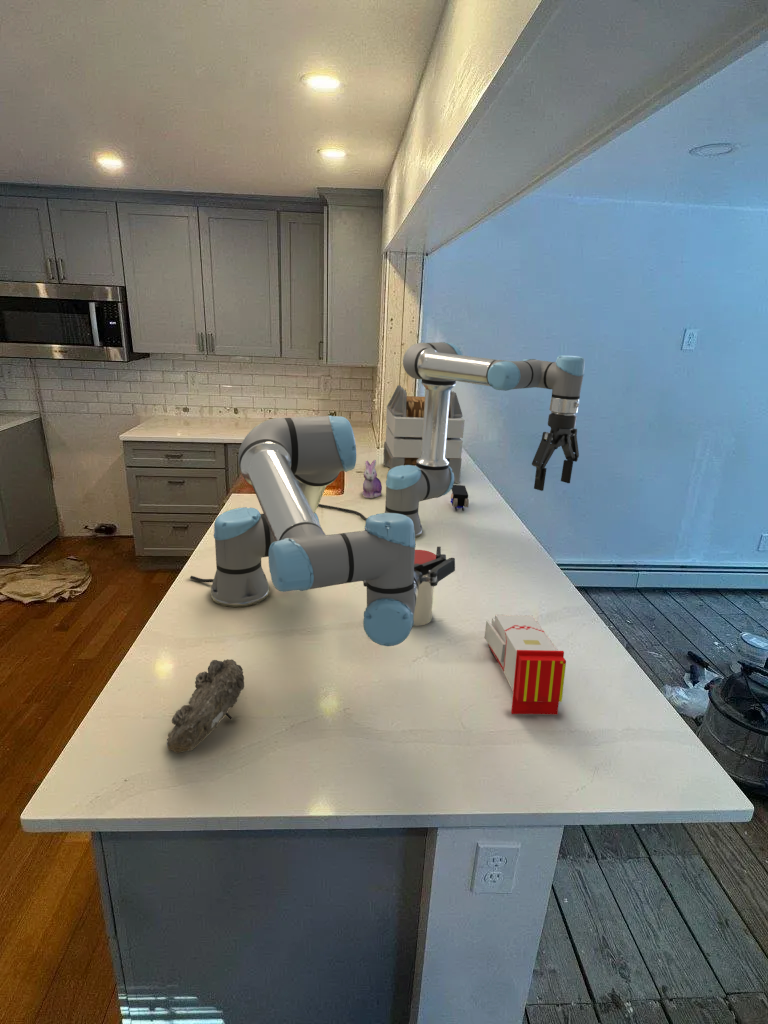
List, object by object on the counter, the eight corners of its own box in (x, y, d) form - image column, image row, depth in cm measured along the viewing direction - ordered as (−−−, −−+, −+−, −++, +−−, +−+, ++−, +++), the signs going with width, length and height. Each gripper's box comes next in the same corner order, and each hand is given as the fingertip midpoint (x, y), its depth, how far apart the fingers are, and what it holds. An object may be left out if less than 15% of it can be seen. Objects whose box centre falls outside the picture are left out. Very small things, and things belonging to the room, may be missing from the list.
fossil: (192, 660, 117) (244, 628, 112) (224, 691, 120) (276, 661, 115) (142, 746, 98) (202, 712, 93) (182, 779, 101) (242, 748, 96)
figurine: (366, 499, 233) (368, 464, 228) (356, 492, 241) (357, 458, 236) (387, 497, 237) (388, 462, 232) (376, 490, 246) (377, 456, 241)
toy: (530, 600, 137) (574, 657, 108) (525, 651, 140) (567, 720, 111) (480, 599, 137) (511, 656, 107) (477, 651, 139) (506, 719, 110)
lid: (402, 573, 137) (403, 564, 136) (398, 557, 145) (399, 549, 144) (440, 573, 137) (441, 565, 137) (434, 558, 146) (434, 549, 145)
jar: (401, 625, 142) (405, 565, 136) (397, 609, 150) (401, 551, 144) (433, 625, 143) (438, 565, 137) (428, 609, 151) (433, 552, 145)
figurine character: (468, 516, 224) (463, 500, 237) (471, 498, 221) (465, 483, 234) (452, 515, 224) (447, 499, 237) (453, 498, 220) (449, 482, 234)
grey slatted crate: (382, 463, 289) (386, 382, 275) (445, 464, 293) (451, 384, 279) (390, 482, 257) (394, 392, 243) (460, 483, 261) (468, 394, 247)
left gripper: (328, 609, 102) (349, 570, 122) (468, 610, 99) (466, 569, 119) (325, 569, 100) (347, 536, 121) (468, 569, 97) (466, 535, 117)
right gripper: (548, 419, 148) (537, 496, 155) (598, 411, 163) (586, 482, 171) (525, 414, 153) (515, 489, 160) (575, 407, 169) (564, 476, 176)
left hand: (406, 552), depth 120 cm, fingers open, 13 cm apart
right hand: (552, 485), depth 166 cm, fingers open, 13 cm apart
